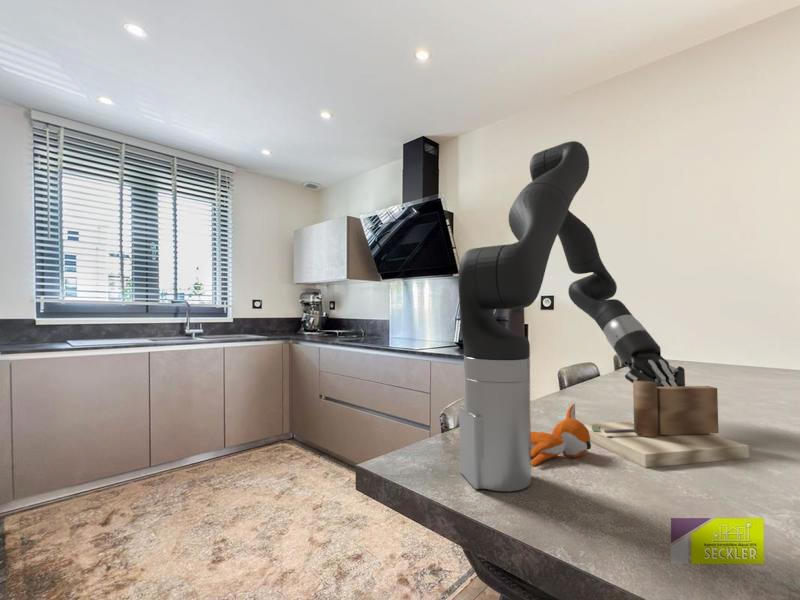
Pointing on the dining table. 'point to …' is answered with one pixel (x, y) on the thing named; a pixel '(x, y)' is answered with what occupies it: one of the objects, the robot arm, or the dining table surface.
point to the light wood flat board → (665, 446)
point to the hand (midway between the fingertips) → (684, 412)
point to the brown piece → (673, 410)
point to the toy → (561, 440)
